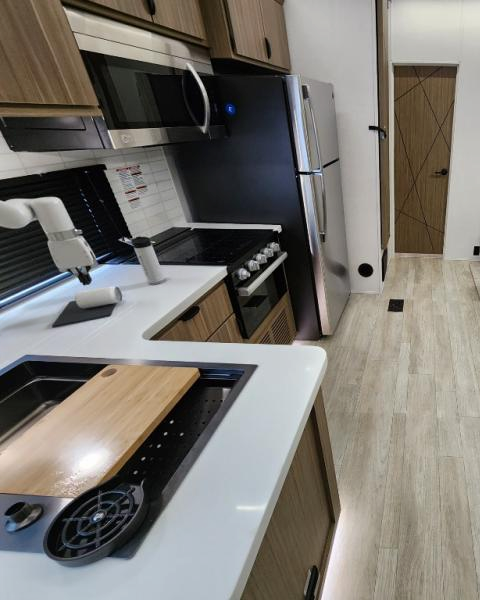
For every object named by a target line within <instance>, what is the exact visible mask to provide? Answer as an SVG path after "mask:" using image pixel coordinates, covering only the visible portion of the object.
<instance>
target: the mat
mask: <svg viewBox="0 0 480 600" xmlns="http://www.w3.org/2000/svg"><path fill="white" fill-rule="evenodd" d="M116 305H117V303H113V304H107V305H102V306H96V307H91V308H85V309H82V308H80V307H79V306H78V305H77V303H76V301H75V300H71V301H69V302H68V303H67V305H66V306H65V307H64V309H63V310H62V311H61V313H60V314H59V315H58V317H56V319H55V321H54V322H53V323H52V324H51V327H52V329H54V328H59V327H64V326H69V325H73V324H78V323H84V322H88V321H93V320H98V319H104V318H108V317H111V316H112V314H113V312H114V309H115V307H116Z"/></svg>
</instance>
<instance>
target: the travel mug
mask: <svg viewBox="0 0 480 600" xmlns="http://www.w3.org/2000/svg"><path fill="white" fill-rule="evenodd" d="M130 242H131V244H132V246H133V249H134V252H135V254H136V256H137V259H138V261H139V264H140V267H141V269H142V271H143V273H144V276H145V278H146V281H147V283H148V285H150V286H155V284H156V285H160V284H162V282H163V283H164V282H166V278H165V275H164V273H163V272H164V271H163V270H162V268H161V265H160V263H159V260H158V257H157V254H156V252H155V249H154V246H153V244H152V242H151V239H150V237H148V236H140V235H139V236H136V237H134V238H132V239H131V241H130Z"/></svg>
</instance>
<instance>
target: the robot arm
mask: <svg viewBox="0 0 480 600" xmlns="http://www.w3.org/2000/svg"><path fill="white" fill-rule="evenodd" d="M34 221H38V222H39V224H40V226H41V228H42V230H43V231H44V233H45V235H46V237H47V239H48V241H47V246H48V250H49V253H50V255H51V258H52V260H53V262H54V264H55V267H57V268H58V271H59V272H60V273H70V274H72V275H74V276H76V277H77V279H78V281H79V283H80V284H82V285H83V286H89V285H91V283H92V281H93V279H92V277H91V275H90V273H89V272H90V270H91V269H94V268H96V267H98V266H99V263H98V262H97V256H96V255H95V253H94V251H93V249H92V248H91V246H90V245H89V243H88V242H87V240H86V239H85V238H84V236H83V235H81V234H83V230H82V229H78V228H77V227H75V225H74V223H73V221H72V219H71V217H70V215H69V213H68V211H67V208H66V207H65V204H64V203H63V201H62V200H61V198H59V197H56V196H44V197H43V196H42V197H38V198H37V197H36V198H11V199H7V200H5V201H3V200H0V227H1V228H6V229H21V228H25V227H26V226H27V225H29V224H30V223H32V222H34Z"/></svg>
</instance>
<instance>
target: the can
mask: <svg viewBox="0 0 480 600" xmlns="http://www.w3.org/2000/svg"><path fill="white" fill-rule="evenodd" d="M122 300H123V293H122V291H121V289H120V288H119V287H118V286H105V287H100V288H92V289H87V290H80V291H77V292H76V293H75V294H74V301H76V303H77V305H78V306H79V307H80V308H82V309H85V308H91V307H96V306H102V305H107V304H113V303H116V304H117V303H119V302H122Z"/></svg>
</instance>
